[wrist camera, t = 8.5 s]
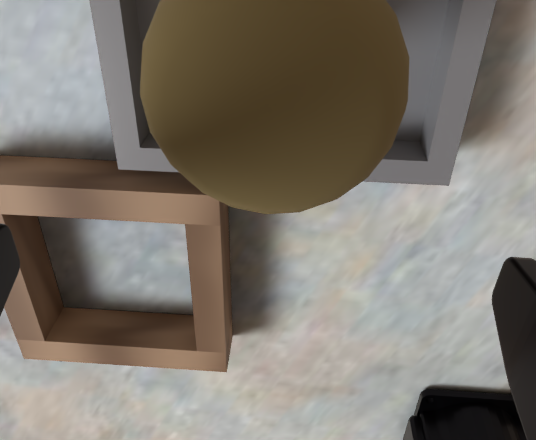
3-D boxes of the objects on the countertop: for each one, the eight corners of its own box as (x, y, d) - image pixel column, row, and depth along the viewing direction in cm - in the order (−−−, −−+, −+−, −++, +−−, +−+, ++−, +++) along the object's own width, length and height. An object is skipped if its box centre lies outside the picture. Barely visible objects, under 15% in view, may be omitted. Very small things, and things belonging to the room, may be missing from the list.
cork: (235, -142, 16) (127, -162, 7) (411, -64, 16) (532, 14, 7) (185, 45, 19) (69, 203, 10) (334, 102, 20) (352, 296, 11)
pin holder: (227, 166, 23) (218, 195, 21) (232, 336, 29) (226, 372, 27) (-13, 154, 23) (-44, 182, 21) (43, 324, 29) (23, 358, 27)
